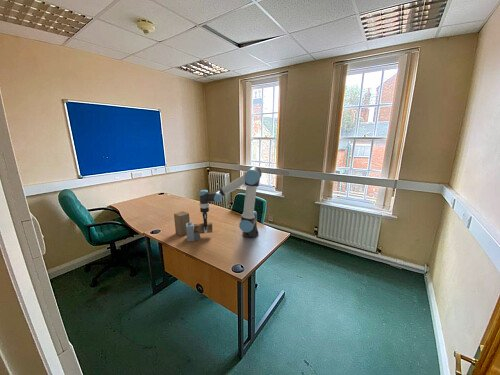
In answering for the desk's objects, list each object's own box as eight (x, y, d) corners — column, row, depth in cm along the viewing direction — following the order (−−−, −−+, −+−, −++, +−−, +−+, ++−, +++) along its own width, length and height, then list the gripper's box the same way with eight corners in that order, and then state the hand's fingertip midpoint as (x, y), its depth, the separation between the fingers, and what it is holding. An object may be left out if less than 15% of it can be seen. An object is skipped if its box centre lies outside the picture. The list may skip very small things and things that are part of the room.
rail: (212, 230, 192) (211, 222, 190) (212, 232, 188) (212, 224, 186) (194, 232, 188) (193, 224, 186) (194, 234, 184) (193, 226, 182)
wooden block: (184, 229, 204) (183, 210, 200) (190, 232, 198) (189, 213, 193) (175, 233, 197) (173, 213, 192) (181, 236, 191) (179, 216, 186)
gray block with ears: (199, 235, 192) (198, 219, 188) (200, 239, 185) (199, 222, 181) (187, 237, 189) (186, 220, 185) (187, 241, 182) (185, 224, 178)
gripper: (199, 204, 190) (201, 228, 196) (200, 210, 174) (202, 236, 180) (208, 204, 192) (209, 227, 198) (209, 210, 176) (210, 235, 182)
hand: (205, 231), depth 189 cm, fingers closed on rail, 4 cm apart
